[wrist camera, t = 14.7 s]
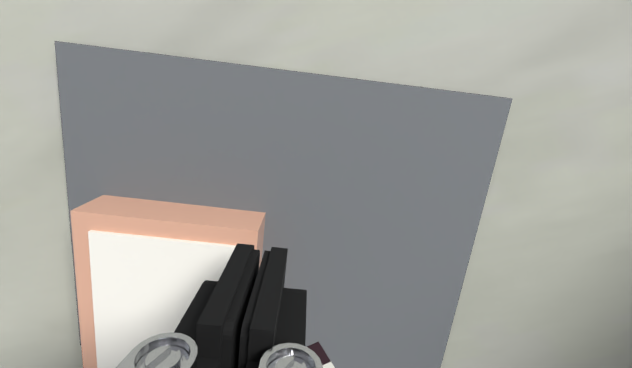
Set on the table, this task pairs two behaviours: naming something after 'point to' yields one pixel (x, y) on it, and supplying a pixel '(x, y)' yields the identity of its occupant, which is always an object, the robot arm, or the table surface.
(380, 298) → the mat
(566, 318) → the table surface
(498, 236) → the table surface
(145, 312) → the tile
